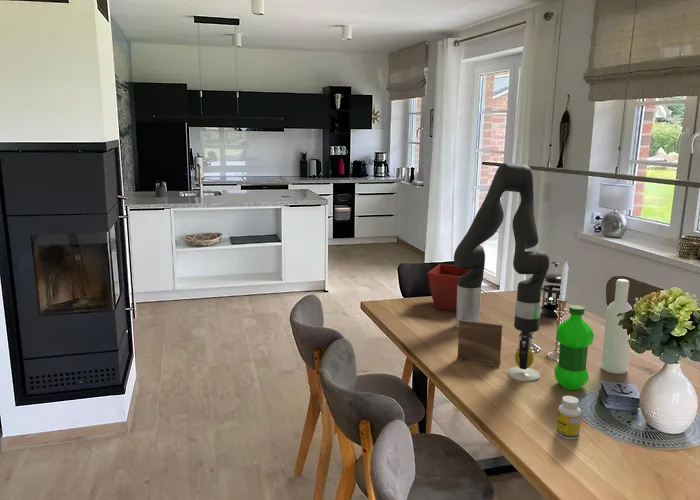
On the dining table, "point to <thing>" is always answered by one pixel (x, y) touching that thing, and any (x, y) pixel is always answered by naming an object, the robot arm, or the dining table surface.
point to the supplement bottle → (569, 418)
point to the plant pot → (445, 285)
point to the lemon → (529, 359)
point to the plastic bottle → (573, 349)
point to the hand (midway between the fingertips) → (523, 364)
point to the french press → (550, 307)
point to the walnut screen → (479, 342)
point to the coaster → (523, 374)
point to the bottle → (616, 332)
